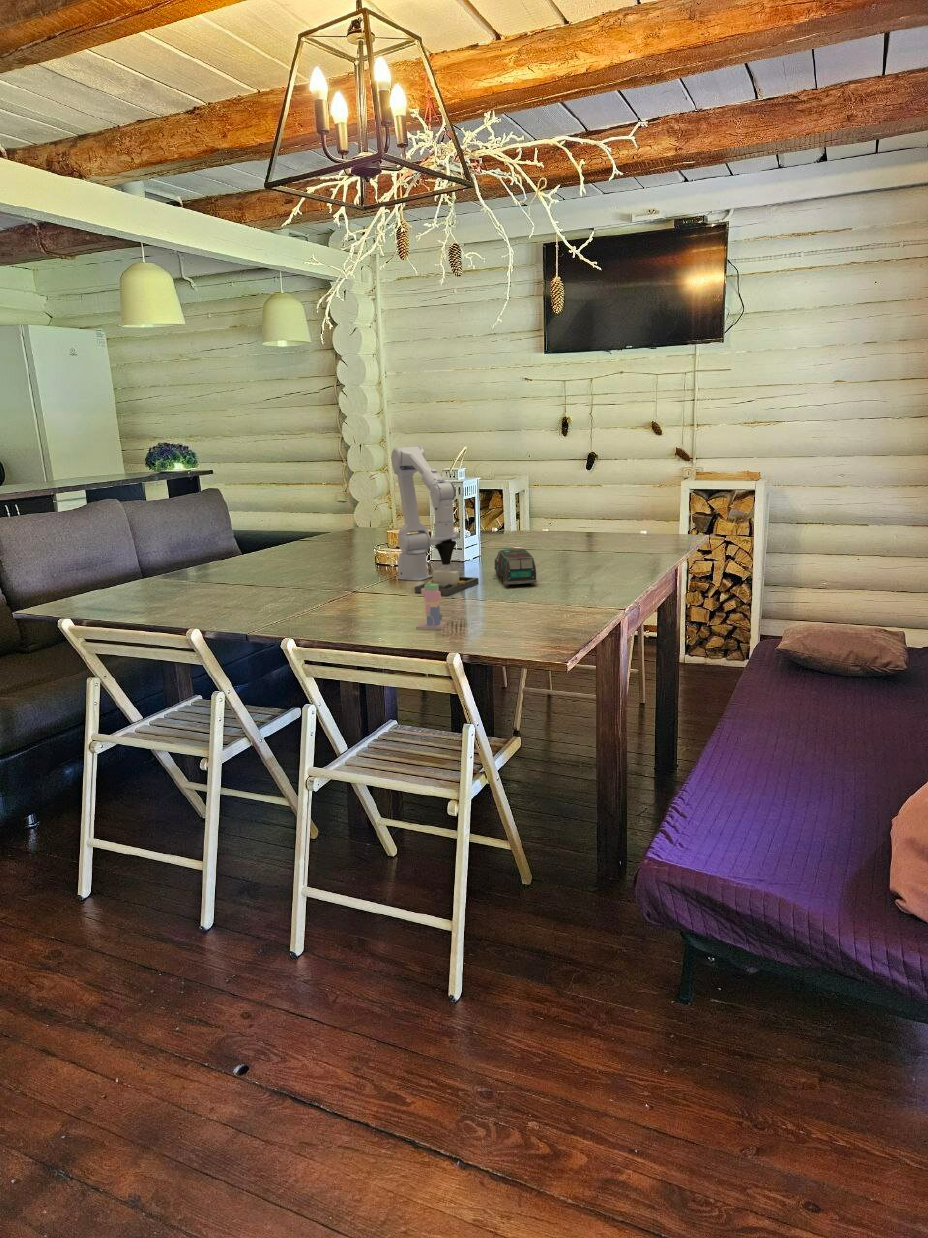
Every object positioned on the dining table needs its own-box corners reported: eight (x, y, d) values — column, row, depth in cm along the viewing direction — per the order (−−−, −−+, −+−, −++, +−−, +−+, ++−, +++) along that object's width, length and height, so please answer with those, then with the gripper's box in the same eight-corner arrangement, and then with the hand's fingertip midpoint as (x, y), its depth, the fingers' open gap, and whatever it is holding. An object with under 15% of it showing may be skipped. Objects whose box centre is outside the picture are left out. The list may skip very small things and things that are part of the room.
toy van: (524, 572, 290) (523, 544, 288) (538, 587, 266) (537, 556, 264) (493, 574, 289) (492, 545, 287) (504, 589, 265) (503, 558, 263)
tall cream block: (433, 586, 271) (432, 571, 269) (438, 585, 273) (437, 569, 272) (454, 588, 266) (453, 573, 265) (459, 586, 269) (458, 571, 268)
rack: (415, 593, 265) (414, 584, 264) (447, 581, 281) (447, 573, 280) (447, 596, 259) (446, 587, 258) (478, 583, 274) (478, 575, 274)
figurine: (446, 624, 225) (444, 579, 222) (441, 629, 220) (439, 584, 217) (421, 623, 227) (419, 579, 224) (416, 629, 221) (413, 584, 219)
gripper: (442, 525, 256) (444, 569, 260) (467, 518, 268) (468, 560, 272) (423, 524, 260) (425, 567, 263) (448, 518, 272) (450, 559, 275)
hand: (446, 564), depth 268 cm, fingers closed
